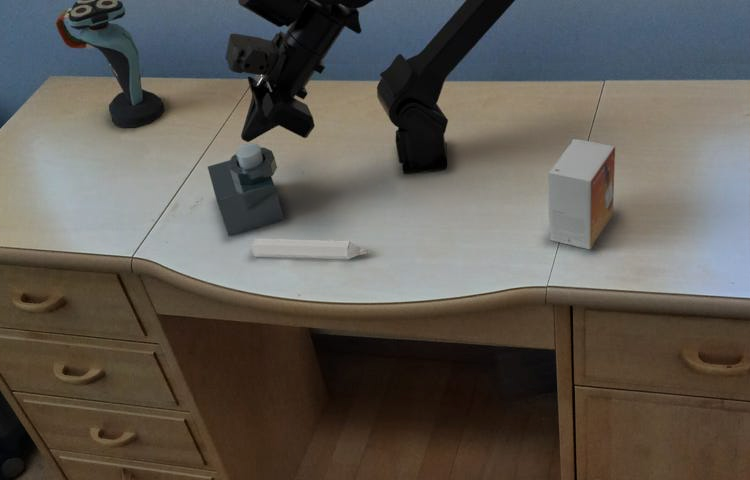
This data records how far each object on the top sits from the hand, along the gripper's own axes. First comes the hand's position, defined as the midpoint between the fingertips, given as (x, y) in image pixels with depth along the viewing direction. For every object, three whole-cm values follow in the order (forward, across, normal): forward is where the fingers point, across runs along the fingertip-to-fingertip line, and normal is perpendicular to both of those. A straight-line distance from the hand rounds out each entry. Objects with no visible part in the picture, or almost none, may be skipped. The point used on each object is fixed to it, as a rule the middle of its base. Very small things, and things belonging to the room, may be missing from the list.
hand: (244, 139), depth 124 cm
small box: (-18, +24, +35) cm, 46 cm away
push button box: (+9, 0, +7) cm, 12 cm away
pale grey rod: (+5, +14, +11) cm, 19 cm away
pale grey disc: (+3, 0, +3) cm, 4 cm away
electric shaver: (+20, -37, -3) cm, 42 cm away
